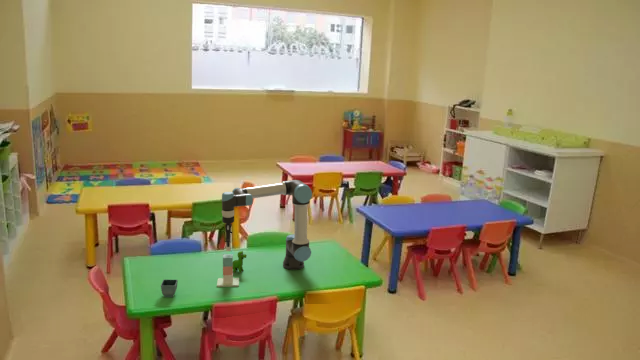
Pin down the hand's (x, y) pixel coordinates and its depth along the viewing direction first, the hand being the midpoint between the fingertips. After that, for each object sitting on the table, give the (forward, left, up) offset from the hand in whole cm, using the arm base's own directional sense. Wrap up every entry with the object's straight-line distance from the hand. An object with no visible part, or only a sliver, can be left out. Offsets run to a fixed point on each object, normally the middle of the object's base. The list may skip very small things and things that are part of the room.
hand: (228, 247), depth 348 cm
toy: (-5, -18, -25) cm, 31 cm away
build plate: (0, +1, -25) cm, 25 cm away
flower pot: (+35, +18, -25) cm, 47 cm away
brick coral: (+1, +1, -18) cm, 18 cm away
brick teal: (+1, +1, -12) cm, 12 cm away
